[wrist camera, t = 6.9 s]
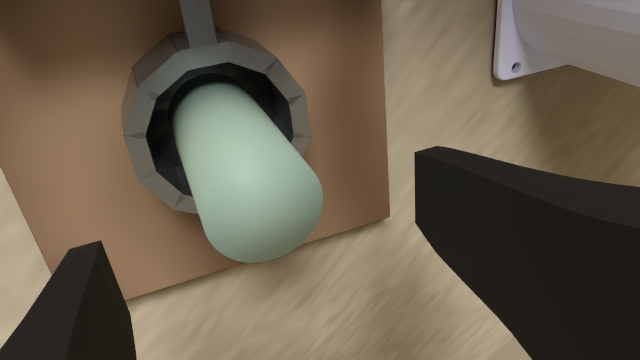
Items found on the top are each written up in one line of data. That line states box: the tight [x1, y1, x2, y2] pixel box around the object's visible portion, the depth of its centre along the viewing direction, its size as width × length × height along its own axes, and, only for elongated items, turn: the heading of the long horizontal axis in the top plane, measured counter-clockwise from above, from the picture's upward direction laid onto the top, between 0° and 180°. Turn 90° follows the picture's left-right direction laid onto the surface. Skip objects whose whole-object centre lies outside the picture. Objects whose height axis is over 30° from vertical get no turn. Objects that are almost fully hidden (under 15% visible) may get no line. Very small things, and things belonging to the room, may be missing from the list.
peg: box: [168, 73, 323, 263], centre depth 15 cm, size 3×3×7 cm
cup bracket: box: [0, 0, 390, 300], centre depth 17 cm, size 14×14×5 cm
